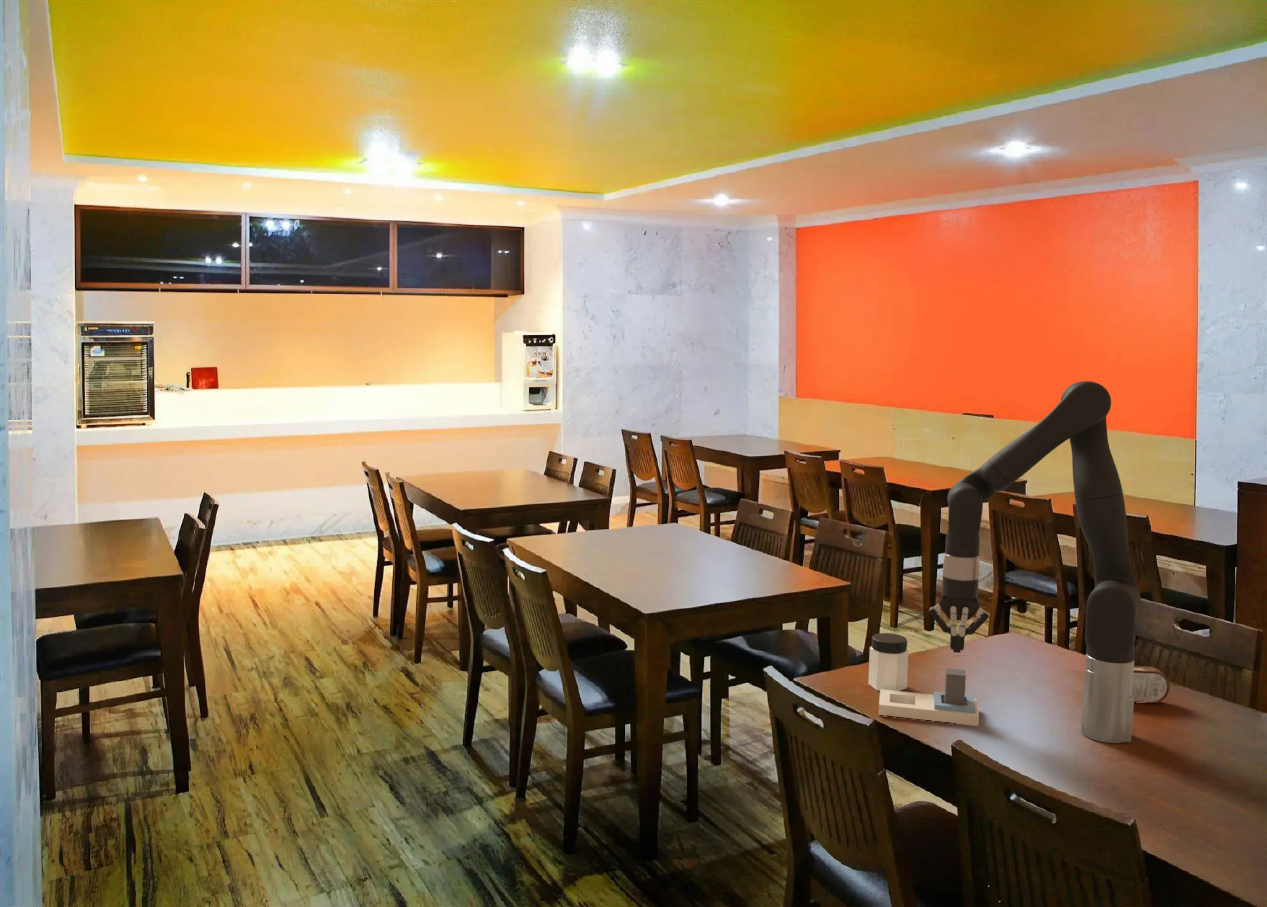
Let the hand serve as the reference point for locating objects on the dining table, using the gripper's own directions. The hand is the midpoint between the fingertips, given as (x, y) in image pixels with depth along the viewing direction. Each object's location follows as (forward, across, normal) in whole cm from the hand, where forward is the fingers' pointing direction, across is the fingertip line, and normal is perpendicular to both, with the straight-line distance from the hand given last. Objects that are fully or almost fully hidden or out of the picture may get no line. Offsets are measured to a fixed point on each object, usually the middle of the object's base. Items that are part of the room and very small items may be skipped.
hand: (956, 651), depth 225 cm
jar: (+15, +14, -14) cm, 25 cm away
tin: (+15, -40, -20) cm, 48 cm away
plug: (+15, 0, 0) cm, 15 cm away
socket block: (+15, +6, 0) cm, 16 cm away
